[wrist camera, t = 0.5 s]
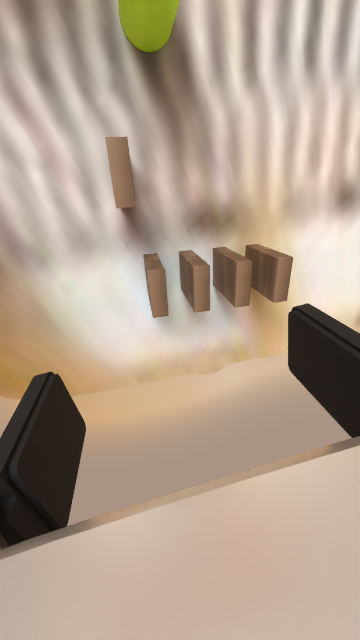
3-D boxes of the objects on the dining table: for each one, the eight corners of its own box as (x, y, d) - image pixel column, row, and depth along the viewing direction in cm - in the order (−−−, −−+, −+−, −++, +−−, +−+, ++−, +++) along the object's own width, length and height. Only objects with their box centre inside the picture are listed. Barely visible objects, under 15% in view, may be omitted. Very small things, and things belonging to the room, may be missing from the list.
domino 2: (147, 291, 41) (153, 317, 32) (143, 254, 38) (147, 271, 29) (160, 290, 41) (168, 315, 32) (156, 253, 39) (164, 270, 30)
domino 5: (243, 281, 43) (273, 302, 34) (245, 245, 41) (278, 258, 32) (254, 279, 44) (286, 300, 35) (257, 244, 41) (293, 257, 32)
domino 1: (119, 205, 35) (116, 208, 26) (111, 153, 32) (105, 137, 23) (133, 204, 35) (135, 206, 26) (127, 153, 32) (127, 136, 24)
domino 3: (181, 288, 42) (194, 312, 33) (178, 251, 39) (193, 267, 30) (192, 286, 42) (209, 310, 33) (191, 250, 39) (209, 265, 30)
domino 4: (212, 284, 42) (235, 307, 34) (213, 248, 40) (237, 262, 31) (224, 283, 43) (249, 305, 34) (225, 247, 40) (252, 261, 31)
